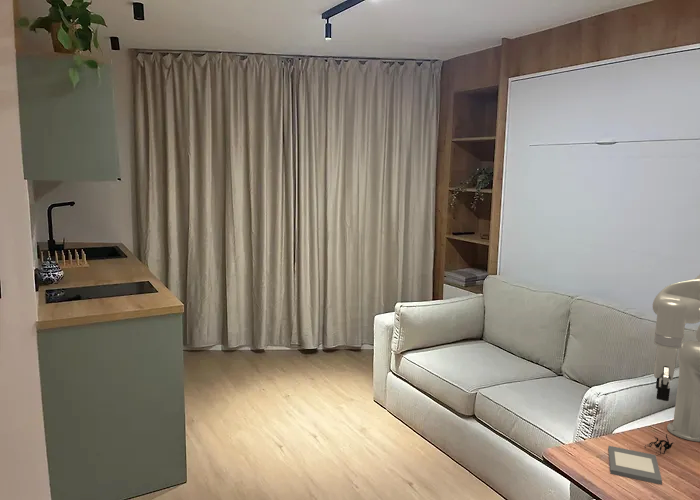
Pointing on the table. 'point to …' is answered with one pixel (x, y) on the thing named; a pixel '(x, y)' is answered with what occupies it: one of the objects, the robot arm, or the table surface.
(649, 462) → the grey picture mat
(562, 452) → the table surface
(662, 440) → the creature
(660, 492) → the table surface
